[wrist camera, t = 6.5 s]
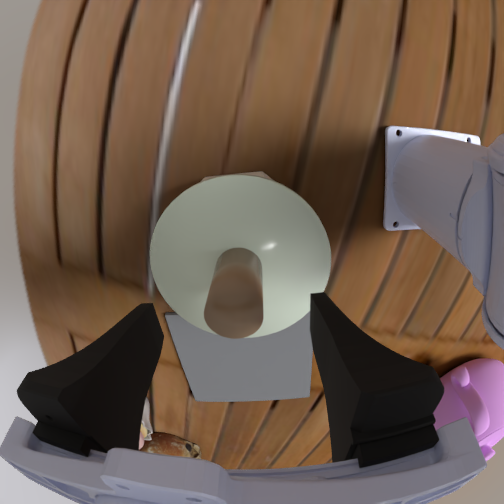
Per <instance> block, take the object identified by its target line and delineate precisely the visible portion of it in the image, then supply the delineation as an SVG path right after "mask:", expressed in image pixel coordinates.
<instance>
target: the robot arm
mask: <svg viewBox="0 0 504 504" xmlns="http://www.w3.org/2000/svg"><path fill="white" fill-rule="evenodd" d="M397 130H399V131H400V135H399V136H397V135H396V131H397ZM467 138H468V142H467ZM396 221H397V224H396V225H395V226H393V223H394V222H396ZM383 226H384V228H385V229H386V230H388V231H394V230H410V229H422V230H423V231H424V232H426V233H427V234H428V235H429V236H431V237H432V238H433V239H434V240H435V241H436V242H438V243H439V244H440V245H441V246H442V247H443V248H445V249H446V250H447V251H448V252H449V253H450V254H451V255H453V256H454V257H455V258H456V259H457V260H458V261H459V262H460V263H461V264H463V265H464V266H465V267H466V268H467V269H468V270H469V271H470V272H471V274H472V276H473V285H474V286H475V287H476V288H477V289H478V290H479V291H480V293H481V294H482V295H483V296H484V300H483V305H482V320H483V324H484V327H485V329H486V331H487V333H488V335H489V336H490V337H491V338H492V340H493V341H494V342H495V343H496V344H497V345H498V346H499V347H501V348H502V349H504V134H501V135H499V136H498V137H497V138H496V139H495V141H494V142H493V143H492V144H490V145H489V147H485V146H481V145H480V139H479V137H478V136H475V135H469V134H463V133H456V132H449V131H441V130H433V129H424V128H413V127H401V126H388V127H387V128H386V130H385V200H384V218H383ZM310 334H311V340H312V347H313V351H314V355H315V358H316V362H317V365H318V369H319V373H320V376H321V380H322V384H323V387H324V392H325V398H326V405H327V412H328V420H329V428H330V438H331V448H332V462H333V463H328V464H320V465H313V466H304V467H293V468H280V469H256V470H230V469H224V468H222V467H221V466H220V465H218V464H216V463H213V462H210V461H207V460H203V459H197V458H191V457H181V456H171V455H163V454H156V453H149V452H143V451H139V441H140V430H141V423H142V416H143V411H144V405H145V400H146V396H147V393H148V389H149V386H150V383H151V381H152V378H153V375H154V372H155V369H156V366H157V363H158V360H159V357H160V354H161V350H162V345H163V339H164V335H163V332H162V329H161V326H160V323H159V321H158V318H157V315H156V312H155V309H154V306H153V303H145V304H140V305H139V306H137V307H136V308H135V309H134V310H132V311H131V312H130V313H129V314H128V315H126V316H125V317H124V318H123V319H122V320H121V321H119V322H118V323H117V324H116V325H115V326H114V327H112V328H111V329H110V330H109V331H107V332H106V333H105V334H103V335H102V336H101V337H100V338H98V339H97V340H96V341H94V342H93V343H91V344H90V345H88V346H87V347H85V348H84V349H82V350H81V351H79V352H77V353H75V354H73V355H71V356H70V357H68V358H66V359H64V360H62V361H60V362H57V363H55V364H53V365H50V366H47V367H45V368H42V369H39V370H35V371H32V372H29V373H28V374H27V375H26V377H25V378H24V380H23V381H22V383H21V385H20V386H19V388H18V389H17V394H18V397H19V399H20V400H21V401H22V403H23V404H24V406H25V407H26V408H27V409H28V410H29V411H30V413H31V414H32V415H33V416H34V417H35V418H36V419H37V420H38V422H37V424H36V426H35V425H34V424H33V423H31V422H29V421H27V420H24V419H22V418H19V417H16V418H15V419H14V421H13V423H12V425H11V427H10V429H9V431H8V433H7V435H6V437H5V439H4V441H3V443H2V445H1V447H0V456H1V457H2V458H3V459H5V460H6V461H7V462H8V463H9V464H11V465H12V466H13V467H14V468H16V469H17V470H18V471H20V472H21V473H22V474H24V475H25V476H26V477H28V478H29V479H31V480H32V481H34V482H36V483H38V484H40V485H42V486H44V487H46V488H48V489H50V490H52V491H54V492H56V493H58V494H60V495H62V496H64V497H66V498H68V499H70V500H73V501H75V502H77V503H79V504H427V503H429V502H431V501H434V500H436V499H439V498H441V497H443V496H446V495H448V494H450V493H452V492H454V491H456V490H458V489H459V488H461V487H462V486H463V485H465V484H466V483H467V482H469V481H470V480H471V479H473V478H474V477H475V476H476V475H478V474H479V473H480V472H481V471H482V470H484V469H485V468H486V467H487V463H486V460H485V458H484V455H483V453H482V451H481V448H480V446H479V443H478V441H477V439H476V437H475V434H474V432H473V430H472V428H471V425H470V423H469V421H468V419H467V417H464V418H462V419H459V420H457V421H454V422H452V423H449V424H446V425H444V426H442V427H440V428H439V429H437V430H435V427H434V425H433V424H435V422H436V419H435V417H434V414H433V412H434V411H435V409H436V408H437V406H438V404H439V403H440V401H441V399H442V397H443V394H444V386H443V384H442V382H441V380H440V378H439V376H438V374H437V373H436V371H435V370H434V368H433V367H431V366H428V365H425V364H422V363H419V362H416V361H414V360H411V359H409V358H407V357H404V356H402V355H400V354H398V353H396V352H394V351H392V350H390V349H389V348H387V347H385V346H383V345H382V344H380V343H379V342H377V341H376V340H374V339H373V338H371V337H370V336H369V335H367V334H366V333H364V332H363V331H362V330H361V329H360V328H359V327H357V326H356V325H355V324H354V323H353V322H352V321H351V320H350V319H349V318H348V317H347V316H346V315H345V314H344V313H343V312H342V311H341V310H340V309H339V308H338V307H337V306H336V305H335V304H334V303H333V301H332V300H331V299H330V298H329V297H328V296H327V294H326V293H324V292H320V293H310Z"/></svg>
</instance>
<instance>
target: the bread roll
mask: <svg viewBox="0 0 504 504" xmlns="http://www.w3.org/2000/svg"><path fill="white" fill-rule="evenodd" d="M150 435H151V439H152V440H144V445H143V447H142V448H141V449H139V451H143V452H149V453H156V454H163V455H171V456H181V457H191V458H197V459H201V452H200V450H199V446H198V445H195V444H193V443H191V442H189V441H187V440H185V439H182V438H179V437H177V436H175V435H171V434H167V433H152V434H150Z"/></svg>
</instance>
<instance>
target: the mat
mask: <svg viewBox="0 0 504 504" xmlns="http://www.w3.org/2000/svg"><path fill="white" fill-rule="evenodd" d="M165 317H166V320H167V323H168V326H169V330H170V333H171V335H172V338H173V341H174V344H175V347H176V350H177V353H178V356H179V358H180V361H181V364H182V367H183V369H184V372H185V375H186V377H187V380H188V382H189V385H190V388H191V390H192V393H193V395H194V398H195V400H196V401H211V402H233V401H264V400H280V399H293V398H303V397H309V396H310V383H311V368H312V352H313V347H312V340H311V334H310V311H309V312H308V313H307V314H306V315H305V316H304V317H303V318H301V319H300V320H298V321H297V322H296V323H294V324H292V325H291V326H289V327H287V328H285V329H283V330H281V331H278V332H276V333H272V334H269V335H265V336H260V337H252V338H239V339H231V338H226V337H223V336H220V335H216V334H213V333H210V332H207V331H205V330H202V329H200V328H198V327H196V326H194V325H193V324H191V323H189V322H188V321H186V320H185V319H183V318H182V317H181V316H180V315H178V314H177V313H176V312H170V313H166V314H165Z"/></svg>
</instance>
